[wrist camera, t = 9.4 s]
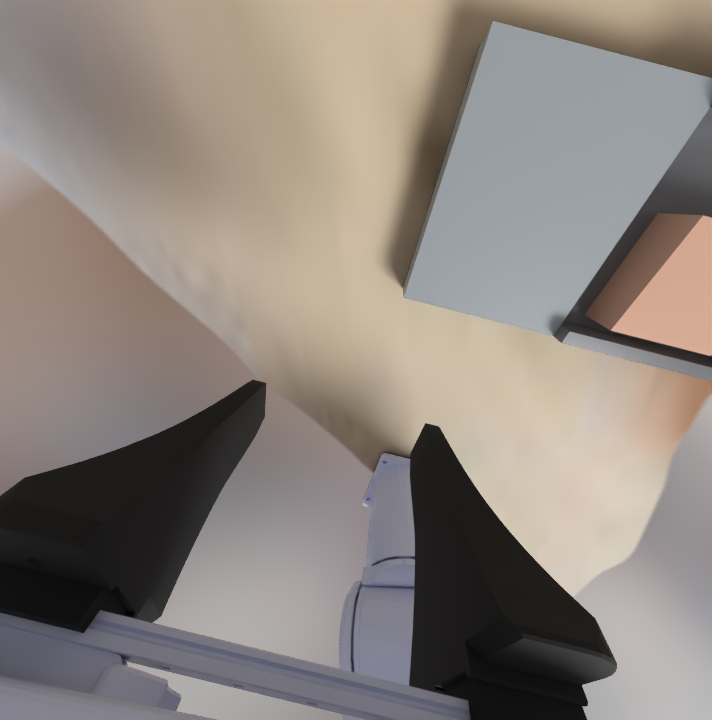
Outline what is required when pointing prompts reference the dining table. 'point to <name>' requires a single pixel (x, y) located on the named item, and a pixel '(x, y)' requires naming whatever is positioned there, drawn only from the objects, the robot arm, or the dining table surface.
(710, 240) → the block
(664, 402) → the dining table surface
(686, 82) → the slate plate
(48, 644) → the robot arm
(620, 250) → the box
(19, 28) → the dining table surface
